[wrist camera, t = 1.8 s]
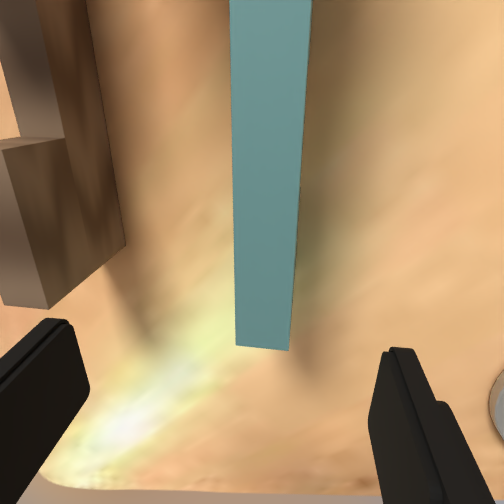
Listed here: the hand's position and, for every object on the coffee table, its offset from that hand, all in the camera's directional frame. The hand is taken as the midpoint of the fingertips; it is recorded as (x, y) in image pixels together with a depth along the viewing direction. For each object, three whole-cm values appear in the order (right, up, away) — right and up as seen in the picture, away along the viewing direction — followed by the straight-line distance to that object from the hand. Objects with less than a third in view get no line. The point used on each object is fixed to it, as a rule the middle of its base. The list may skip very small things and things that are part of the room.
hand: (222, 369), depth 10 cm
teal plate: (+3, +10, +9) cm, 14 cm away
